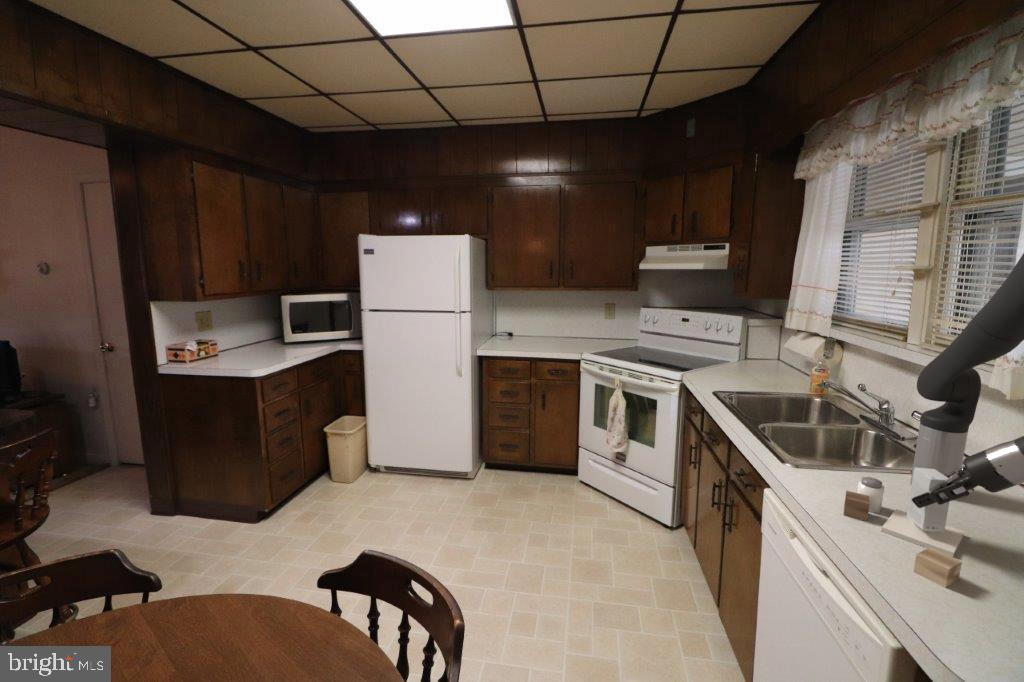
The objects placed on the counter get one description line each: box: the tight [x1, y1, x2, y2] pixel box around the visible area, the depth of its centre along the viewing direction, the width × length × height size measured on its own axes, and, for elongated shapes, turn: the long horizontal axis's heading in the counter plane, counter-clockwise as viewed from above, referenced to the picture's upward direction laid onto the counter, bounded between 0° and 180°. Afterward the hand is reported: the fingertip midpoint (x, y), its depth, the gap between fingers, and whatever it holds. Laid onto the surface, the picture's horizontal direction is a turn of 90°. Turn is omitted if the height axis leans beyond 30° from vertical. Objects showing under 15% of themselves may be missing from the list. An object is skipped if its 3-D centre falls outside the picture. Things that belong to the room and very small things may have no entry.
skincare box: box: [906, 468, 950, 532], centre depth 104 cm, size 6×4×12 cm
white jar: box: [856, 476, 885, 514], centre depth 116 cm, size 5×5×7 cm
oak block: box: [913, 547, 963, 588], centre depth 91 cm, size 5×5×4 cm
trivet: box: [880, 509, 965, 558], centre depth 105 cm, size 12×12×1 cm
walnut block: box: [843, 490, 870, 522], centre depth 113 cm, size 4×4×4 cm
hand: (919, 497), depth 105 cm, fingers closed on skincare box, 7 cm apart
